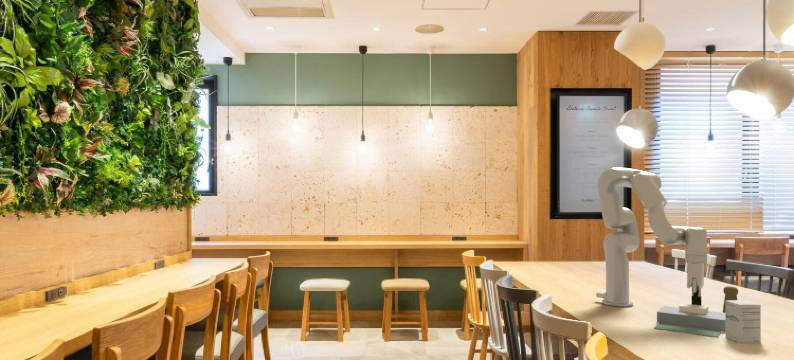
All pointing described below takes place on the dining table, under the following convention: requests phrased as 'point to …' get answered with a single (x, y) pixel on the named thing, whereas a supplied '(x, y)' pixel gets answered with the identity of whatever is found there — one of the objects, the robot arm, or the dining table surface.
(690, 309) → the card
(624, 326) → the dining table surface
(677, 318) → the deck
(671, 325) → the mat
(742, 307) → the supplement box
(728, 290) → the cork
